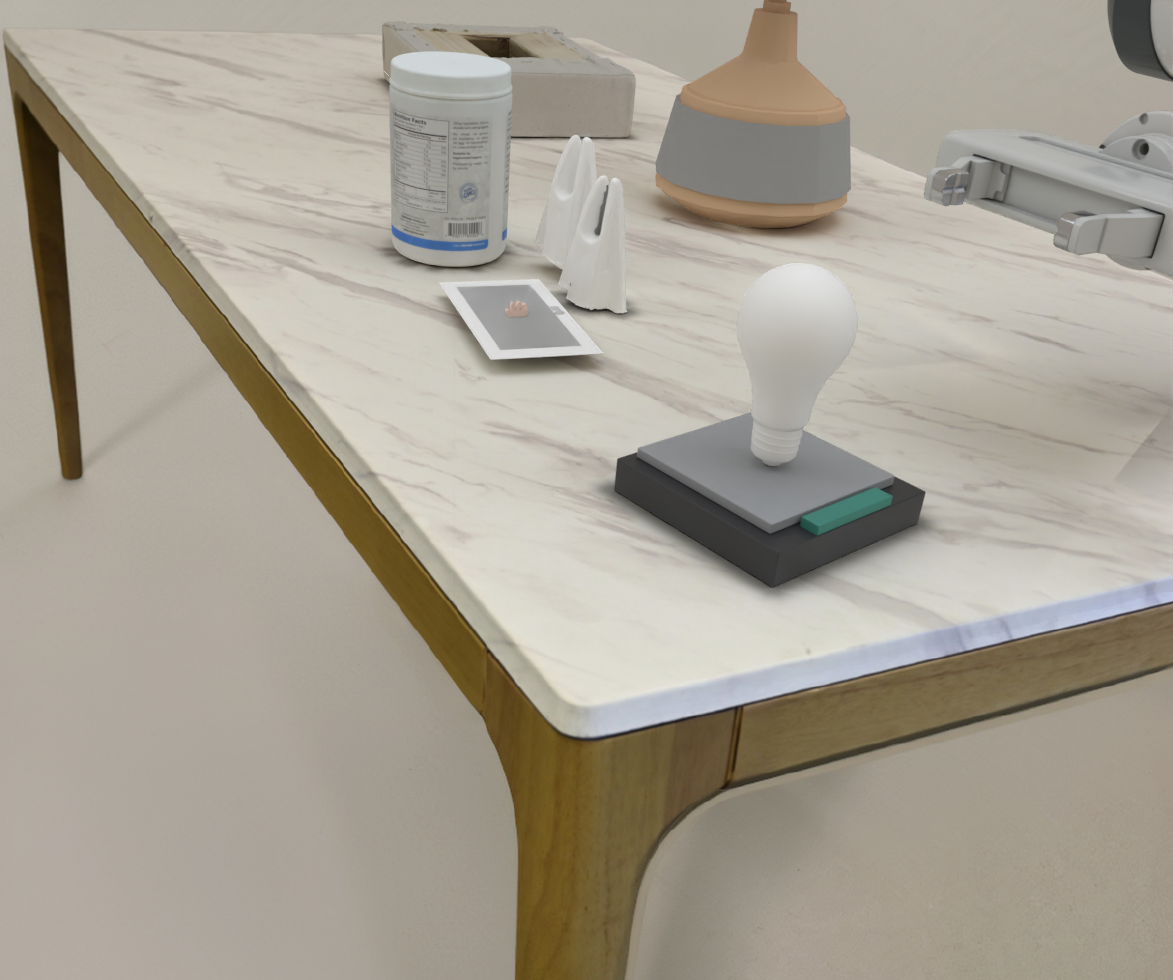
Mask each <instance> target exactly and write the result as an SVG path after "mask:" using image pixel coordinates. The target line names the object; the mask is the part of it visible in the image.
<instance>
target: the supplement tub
mask: <svg viewBox="0 0 1173 980" xmlns="http://www.w3.org/2000/svg"><path fill="white" fill-rule="evenodd" d="M389 82H390V83H389ZM389 82H388V83H389V88H388V89H389V91H388V93H389V95H388V97H389V102H388V106H389V107H388V108H389V109H388V110H389V111H388V112H389V158H390V161H389V162H390V218H391V220H390V222H391V223H390V224H391V225H390V226H391V242H392V245H393V247H394V249H395V250H396V251H397V252H398V254H400V255H401V256H404V258H406V259H410V260H411V261H415V262H418V263H422V264H425V265H430V266H431V265H432V266H437V267H451V268H453V267H454V268H455V267H456V268H457V267H458V268H463V267H464V268H465V267H475V266H480V265H483V264H488V263H491V262H492V261H494V260H496V259H498V258H500V256H501V255H502V254H503V253H504V251H505V249H506V247H507V242H508V241H507V240H508V221H509V197H510V196H509V194H510V191H509V190H510V169H511V167H510V165H511V143H512V142H511V141H512V136H511V118H512V84H511V67H510V66H509V65H508V64H507V63H505V62H503V61H501V60H498V59H494V58H491V57H486V56H481V55H476V54H468V53H457V52H436V51H428V52H414V53H406V54H402V55H398V56H396V57H394V58H393V59H392V60H391V77H390V79H389Z"/></svg>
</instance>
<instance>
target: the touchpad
mask: <svg viewBox="0 0 1173 980" xmlns="http://www.w3.org/2000/svg"><path fill="white" fill-rule="evenodd" d="M438 284H439V285H440V287H441V288H442V290H443V291H444V293H445V294H446V296H447V297H448V299H449V300H450V302H451V304H452V305H453V306H454V308H455V309H456V311H457V312H458V314H459V315H460V317H461V318H462V319H463V321H464V322H465V324H466V326H467V328H468V329H469V330H470V331H471V333H472V335H473V336H474V337H475V339H476V341H477V342H478V343H479V345H480V347H481V348H482V350H483V351H484V353H485V354H486V355H487V357H488V359H489V360H490V361H495V360H513V359H531V358H548V357H549V358H550V357H551V358H552V357H570V356H584V355H585V356H587V355H603V354H604V352H603V351H602V350H601V349H600V347H599V346H598V345H597V344H596V343H595V342H594V341H593V340H592V338H591V337H590V336H589V335H588V333H587V332H586V331H585V330H584V329H583V328H582V327H581V325H580V324H579V323H578V322H577V321H576V320H575V318H573V316H572V315H571V314H570V313H569V311H567V309H566V308H565V307H564V306H563V305H562V304H561V303H560V301H559V300H558V299H557V298H556V297H555V296H554V295H553V293H551V291H550V290H549V288H547V286H546V285H545V284H544V283H543V282H542V280H540V279H539V278H531V279H529V278H528V279H500V280H498V279H497V280H472V281H471V280H470V281H442V282H438Z"/></svg>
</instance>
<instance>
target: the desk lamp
mask: <svg viewBox="0 0 1173 980" xmlns="http://www.w3.org/2000/svg"><path fill="white" fill-rule="evenodd" d="M791 7H792V2H791V1H788V0H763V4H762V7H756V8H754V10H753V14H752V17H751V21H750V24H749V28H748V30H747V35H746V38H745V42H744V45H743V49H742V51H741V53H740V54H739V55H738V56H736V57H734V58H732V59H730V60H728V61H726V62H724V64H721V65H720V66H718V67H716V68H714V69H713V70H711V71H709V72H707V73H705V74H704V75H702V76H700V77H698V78H697V79H695V80H693V81H691V82H689V83H686V84H684V85H683V86H682V89H681V91H680V93H679V94H676V95H675V98H674V101H673V104H672V107H671V111H670V115H669V118H668V120H667V124H666V127H665V130H664V134H663V137H662V141H661V143H660V147H659V150H658V153H657V157H656V160H655V176H654V177H655V186H656V187H658V188H659V189H660V191H662V192H663V193H664V194H666V195H667V196H668V197H670V198H671V199H672V200H674V201H675V202H677V203H678V204H679V205H681V206H682V207H684V208H685V209H687V210H688V211H690V212H691V213H693V214H694V215H696V216H698V217H701V218H705V219H706V220H710V221H714V222H717V223H722V224H727V225H732V226H736V227H744V228H745V227H746V228H757V229H785V228H787V229H788V228H793V227H797V226H802V225H806V224H808V223H812V222H814V221H817V220H819V219H822V218H823V217H826V216H830V215H831V214H833V212H836V211H837V212H838V211H839V210H840V209H841V208H843V207H844V206H845V205H846V204H847V202H848V193H849V192H850V191H851V190H852V178H851V177H852V172H851V171H852V165H851V164H852V163H851V160H852V159H851V158H852V157H851V116H850V115H849V114H848V112H847V106H846V105H845V103H844V101H842V99H841V98H839V97H837V96H836V95H835V94H834V93H833V92H832V91H831V90H830V89H829V87H827V86H826V85H825V84H824V83H822V82H821V81H820V80H819V79H818V78H817V77H816V76H815V75H814V74H813V73H812V72H811V71H810V70H808V69H807V68H806V66H804V65H803V64H802V63H801V62H800V61H799V59H798V22H799V21H798V20H799V19H798V18H799V17H798V16H799V15H798V12H796V11H793V10H791Z"/></svg>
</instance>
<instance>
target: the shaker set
mask: <svg viewBox="0 0 1173 980" xmlns="http://www.w3.org/2000/svg"><path fill="white" fill-rule="evenodd" d="M593 141H594V140H593V139H591V137H582V140H581V137H579V136H578V135H574V136H572V137H569V139H568V140H567V142H566V144H565V146H564V147H563V151H562V153H561V155H560V157H559V160H558V162H557V165H556V168H555V170H554V174H553V178H552V181H551V184H550V187H549V192H548V197H547V200H546V204H545V207H544V209H543V213H542V217H541V219H540V222H539V225H538V228H537V232H536V235H535V238H534V241H533V244H534V245H535V247H536V248H537V250H539V252H541V253H540V254H541V256H543V257H544V258H545V259H546V260H547V261H548V262H550V263H552V265H554V266H556V267H557V268H558V269H561V270H562V271H561V274H560V277H559V281H558V283H557V284H558V287H560V288H563V289H565V290H567V292H566V297H565V299H566V300H567V301H570V302H571V303H573V304H574V305H575V306H578V307H579V308H583V309H587V310H588V309H589V310H590V311H592V310H595V309H596V310H603V309H604V310H605V309H607V310H610V311H612V312H613V313H615V314H625V313H627V312H628V310H627V260H626V259H627V258H626V256H627V254H626V214H625V197H624V189H623V184H622V182H621V180H620V179H619V178H617V177H612V178H611V179H610V181H609V178H608V176H607V175H600V176H599V177H598V172H597V159H596V158H597V157H596V151H595V150H596V149H595V145H594V142H593Z"/></svg>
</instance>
